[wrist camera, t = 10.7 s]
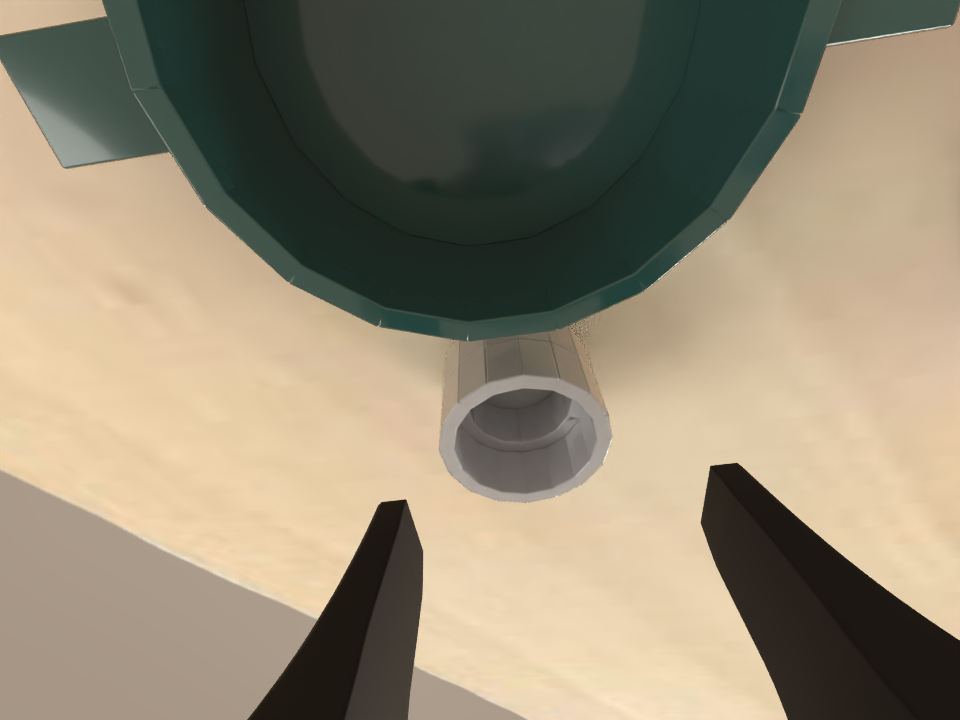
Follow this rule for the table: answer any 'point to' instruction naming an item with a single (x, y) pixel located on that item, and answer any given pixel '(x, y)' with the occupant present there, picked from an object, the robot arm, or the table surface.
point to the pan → (451, 134)
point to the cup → (522, 416)
